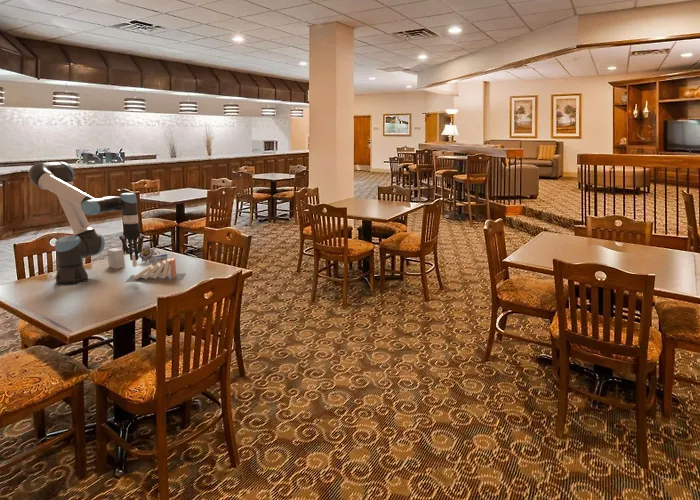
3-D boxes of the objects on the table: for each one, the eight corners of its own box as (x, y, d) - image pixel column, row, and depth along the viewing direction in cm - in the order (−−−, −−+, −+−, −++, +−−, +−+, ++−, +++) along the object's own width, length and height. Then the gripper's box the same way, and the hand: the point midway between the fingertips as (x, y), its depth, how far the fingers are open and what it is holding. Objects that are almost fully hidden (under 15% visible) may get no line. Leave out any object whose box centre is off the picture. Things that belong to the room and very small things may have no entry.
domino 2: (143, 276, 271) (156, 264, 270) (145, 274, 275) (158, 261, 275) (145, 279, 271) (159, 266, 271) (148, 276, 276) (161, 264, 275)
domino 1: (133, 276, 270) (149, 266, 270) (136, 274, 275) (151, 264, 275) (136, 279, 270) (151, 269, 270) (138, 277, 275) (153, 266, 275)
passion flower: (147, 271, 307) (133, 257, 303) (151, 263, 317) (137, 249, 312) (161, 261, 306) (147, 247, 301) (165, 254, 316) (151, 239, 311)
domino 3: (152, 277, 271) (162, 261, 270) (154, 274, 276) (164, 259, 275) (155, 278, 272) (165, 263, 271) (157, 276, 277) (167, 261, 276)
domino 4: (161, 277, 272) (166, 260, 270) (163, 275, 277) (167, 258, 275) (165, 278, 272) (169, 261, 271) (166, 276, 277) (171, 259, 276)
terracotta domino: (171, 278, 273) (169, 260, 271) (172, 275, 278) (171, 258, 276) (174, 278, 273) (173, 260, 271) (176, 275, 278) (175, 258, 276)
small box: (125, 266, 297) (123, 249, 295) (116, 269, 293) (114, 251, 290) (117, 264, 301) (115, 247, 299) (108, 267, 297) (106, 249, 294)
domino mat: (125, 282, 266) (125, 282, 266) (131, 276, 278) (131, 275, 278) (182, 280, 270) (182, 280, 270) (186, 274, 283) (186, 273, 283)
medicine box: (156, 271, 289) (155, 256, 287) (152, 269, 291) (150, 255, 289) (168, 268, 295) (167, 253, 293) (164, 267, 298) (163, 252, 296)
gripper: (115, 224, 261) (120, 268, 266) (142, 223, 263) (146, 267, 268) (119, 221, 268) (124, 264, 274) (145, 221, 270) (149, 263, 276)
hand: (135, 265), depth 271 cm, fingers closed
